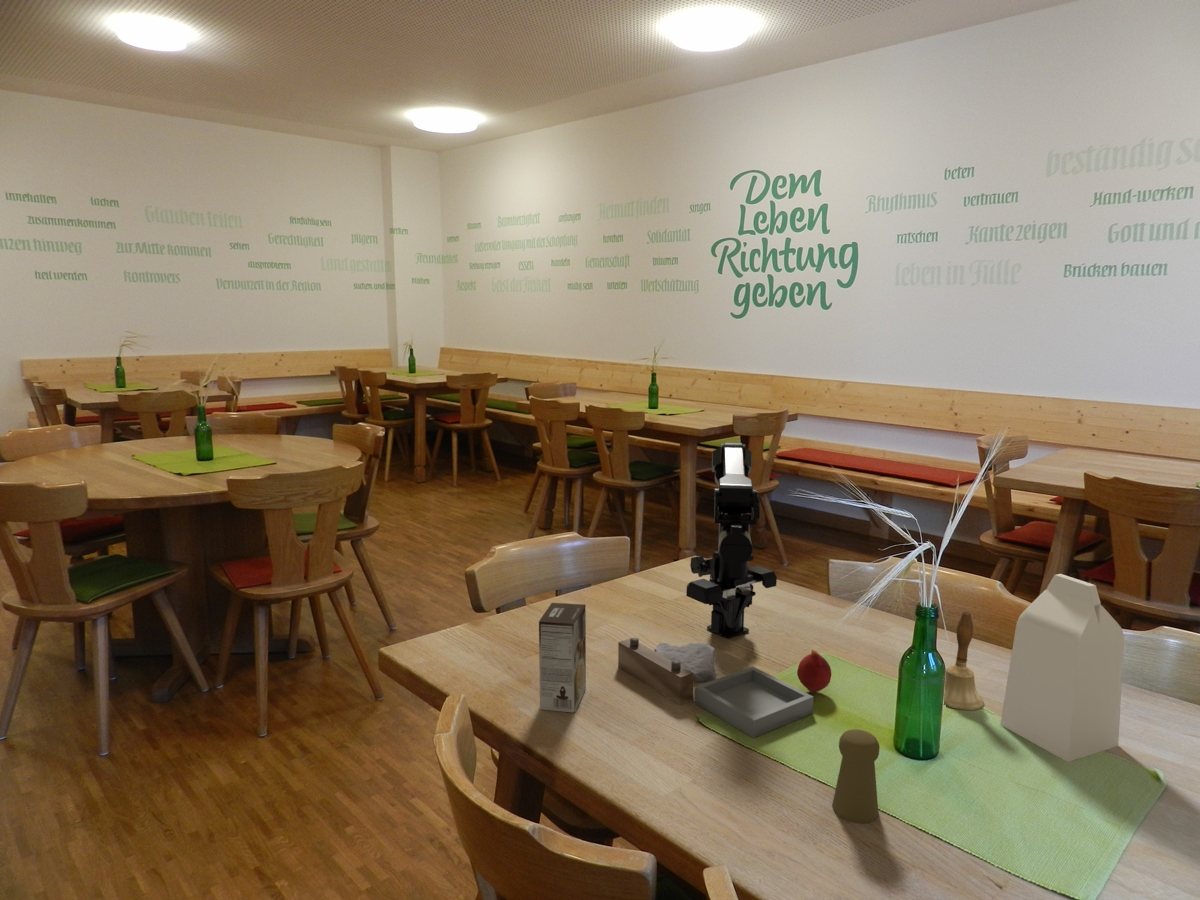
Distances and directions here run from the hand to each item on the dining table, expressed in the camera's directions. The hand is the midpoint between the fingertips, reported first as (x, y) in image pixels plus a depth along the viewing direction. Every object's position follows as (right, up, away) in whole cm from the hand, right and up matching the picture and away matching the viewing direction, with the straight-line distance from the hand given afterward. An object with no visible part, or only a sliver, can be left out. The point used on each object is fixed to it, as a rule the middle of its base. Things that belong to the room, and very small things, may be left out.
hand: (731, 626), depth 154 cm
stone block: (-9, -8, -3) cm, 13 cm away
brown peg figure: (+10, -15, -45) cm, 48 cm away
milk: (+48, -12, -25) cm, 56 cm away
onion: (+13, -9, -11) cm, 19 cm away
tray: (+1, -10, -17) cm, 20 cm away
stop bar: (-15, -8, -8) cm, 19 cm away
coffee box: (-32, -10, -14) cm, 36 cm away
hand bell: (+38, -10, -14) cm, 41 cm away
